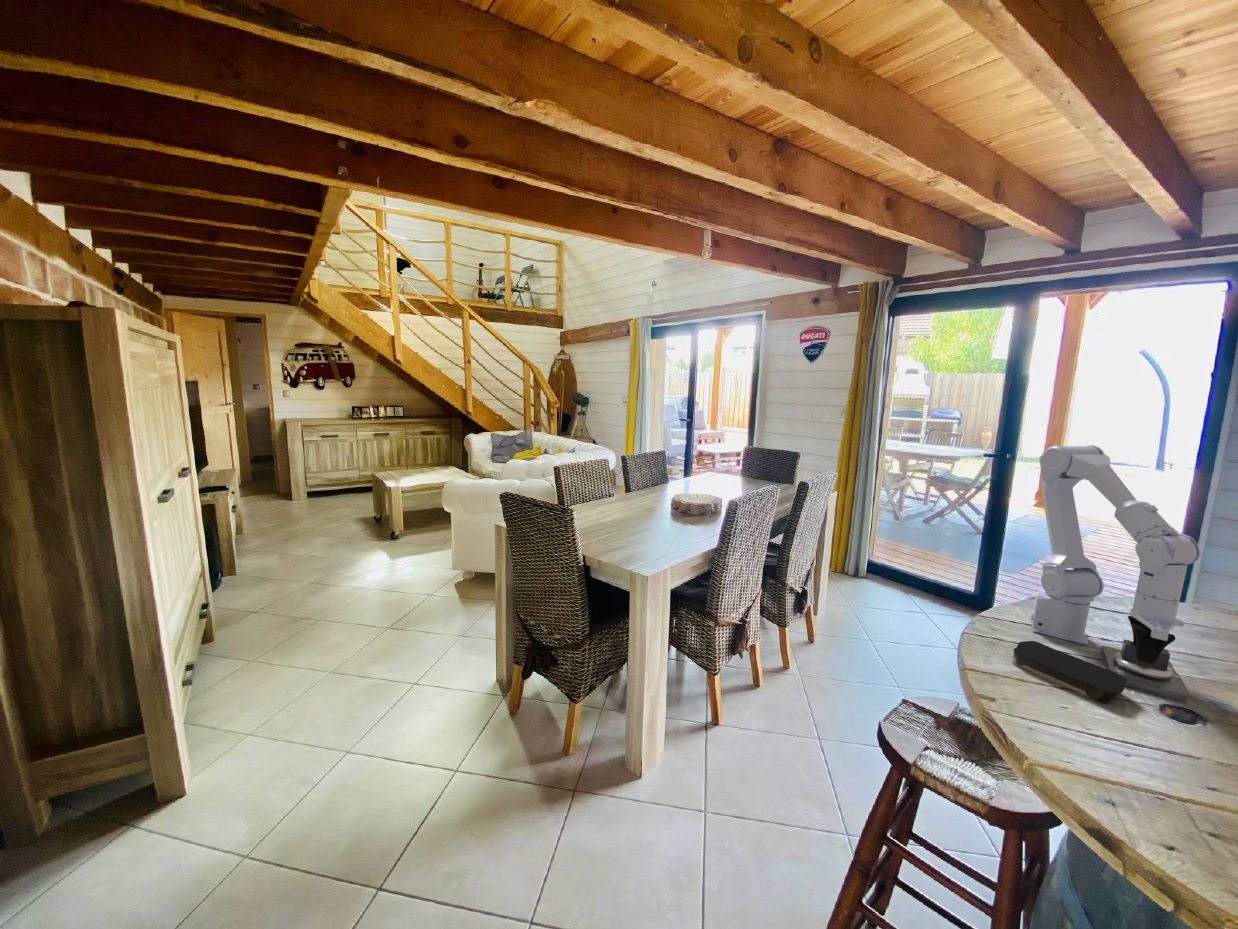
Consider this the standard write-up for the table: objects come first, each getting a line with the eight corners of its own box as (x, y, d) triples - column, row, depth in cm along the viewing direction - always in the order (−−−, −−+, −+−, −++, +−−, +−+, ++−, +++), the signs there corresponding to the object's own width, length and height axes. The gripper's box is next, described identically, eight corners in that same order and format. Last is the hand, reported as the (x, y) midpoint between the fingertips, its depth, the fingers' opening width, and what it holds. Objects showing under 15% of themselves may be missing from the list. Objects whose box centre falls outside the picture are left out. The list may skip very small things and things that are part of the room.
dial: (1116, 668, 96) (1121, 648, 95) (1110, 651, 102) (1114, 632, 101) (1176, 684, 91) (1181, 663, 90) (1166, 665, 97) (1171, 645, 96)
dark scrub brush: (1129, 696, 90) (1132, 678, 90) (1109, 709, 87) (1112, 691, 86) (1025, 653, 105) (1028, 637, 104) (1004, 663, 101) (1007, 647, 100)
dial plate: (1110, 681, 94) (1111, 673, 94) (1100, 651, 105) (1102, 644, 105) (1187, 703, 88) (1189, 695, 88) (1168, 668, 99) (1170, 661, 98)
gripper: (1199, 614, 86) (1183, 683, 88) (1178, 588, 97) (1165, 650, 99) (1142, 602, 90) (1128, 668, 92) (1128, 578, 101) (1116, 638, 103)
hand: (1143, 658), depth 96 cm, fingers closed on dial, 2 cm apart
